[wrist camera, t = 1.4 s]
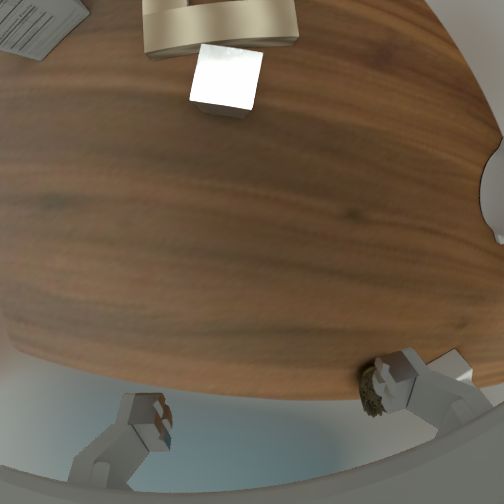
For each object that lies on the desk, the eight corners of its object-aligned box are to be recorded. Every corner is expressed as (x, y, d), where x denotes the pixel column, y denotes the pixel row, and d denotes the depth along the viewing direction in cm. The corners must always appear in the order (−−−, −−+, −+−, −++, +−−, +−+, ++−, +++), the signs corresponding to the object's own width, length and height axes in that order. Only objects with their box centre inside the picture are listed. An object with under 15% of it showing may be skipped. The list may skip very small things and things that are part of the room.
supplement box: (92, 13, 26) (24, -37, 11) (41, 63, 28) (-44, 44, 12) (63, -20, 23) (0, -67, 7) (16, 26, 24) (-60, 2, 9)
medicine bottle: (453, 369, 52) (481, 406, 41) (426, 385, 53) (452, 425, 42) (454, 347, 50) (487, 385, 38) (425, 364, 50) (455, 406, 39)
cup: (343, 369, 48) (358, 403, 41) (381, 346, 47) (401, 377, 40) (358, 391, 51) (372, 423, 43) (393, 369, 49) (411, 399, 42)
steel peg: (249, 83, 32) (263, 53, 19) (242, 119, 33) (251, 109, 20) (211, 77, 31) (201, 43, 18) (204, 113, 33) (189, 100, 20)
